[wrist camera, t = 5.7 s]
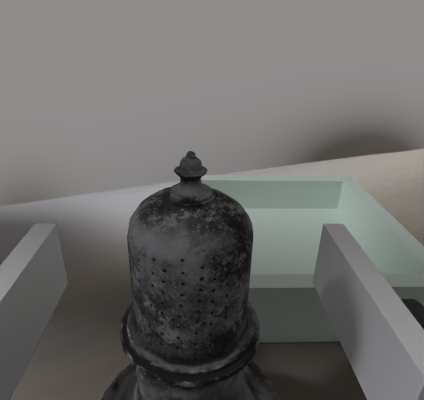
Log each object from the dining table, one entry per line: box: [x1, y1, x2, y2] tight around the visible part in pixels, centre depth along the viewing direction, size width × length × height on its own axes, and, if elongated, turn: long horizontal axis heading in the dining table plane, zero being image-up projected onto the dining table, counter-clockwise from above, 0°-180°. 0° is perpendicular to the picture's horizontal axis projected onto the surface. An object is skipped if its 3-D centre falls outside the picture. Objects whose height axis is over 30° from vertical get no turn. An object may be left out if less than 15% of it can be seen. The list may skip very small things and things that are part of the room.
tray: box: [201, 175, 424, 343], centre depth 24 cm, size 14×14×4 cm
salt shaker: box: [102, 151, 281, 400], centre depth 10 cm, size 6×6×12 cm
